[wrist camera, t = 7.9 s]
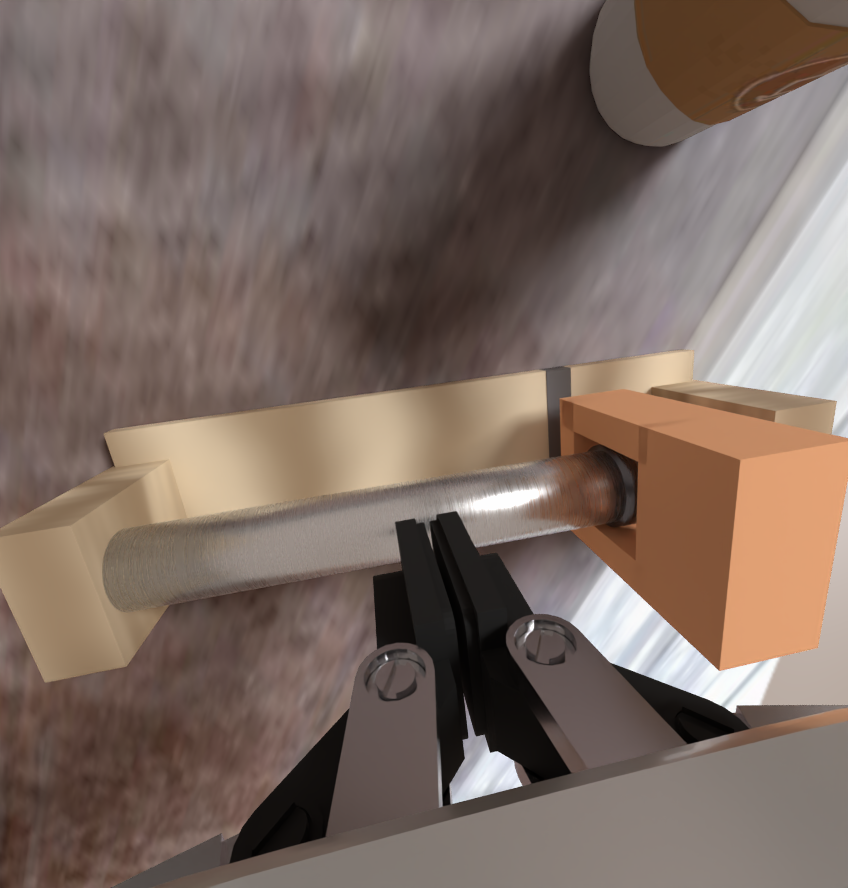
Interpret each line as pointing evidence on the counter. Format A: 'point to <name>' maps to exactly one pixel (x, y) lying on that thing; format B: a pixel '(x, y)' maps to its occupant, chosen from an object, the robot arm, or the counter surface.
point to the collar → (719, 520)
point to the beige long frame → (305, 477)
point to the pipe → (361, 527)
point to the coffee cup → (707, 60)
